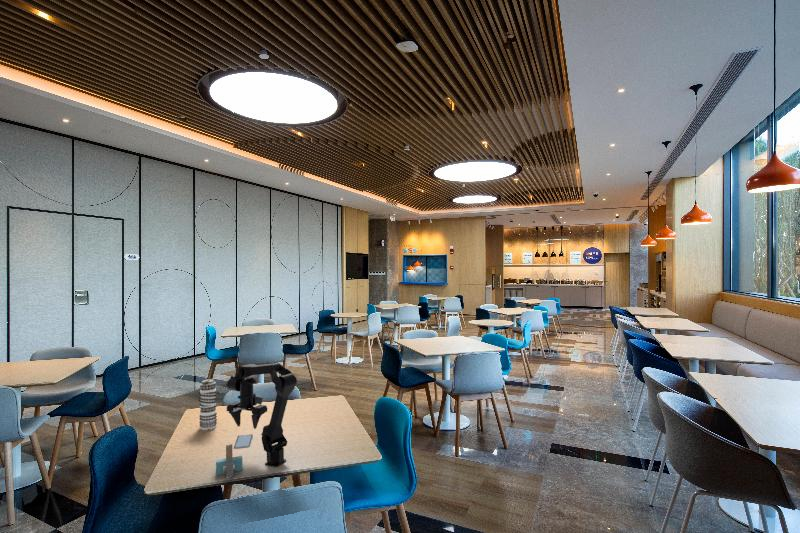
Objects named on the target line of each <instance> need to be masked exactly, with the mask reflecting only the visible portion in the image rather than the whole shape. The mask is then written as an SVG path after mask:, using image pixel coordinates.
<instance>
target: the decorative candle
mask: <svg viewBox="0 0 800 533" xmlns="http://www.w3.org/2000/svg"><path fill="white" fill-rule="evenodd" d="M216 383H217V381H215V380H214V379H211V378H209V379H203V380H202V381H201V382H200V383H199V386H200V387H199V388H200V389H199V392H198V402H199V406H198V407H200V410H199V430H201V429H202V431H206V430H207V431H208V429H209V430H212V429H215V428H217V426H218V422H217V421H218V419H217V414H218V413H217V409H216V408H217V405H218V404H217V402H218V401H217V399H218V397H217V396H218V394H217V393H218V391H217V387H216Z"/></svg>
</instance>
